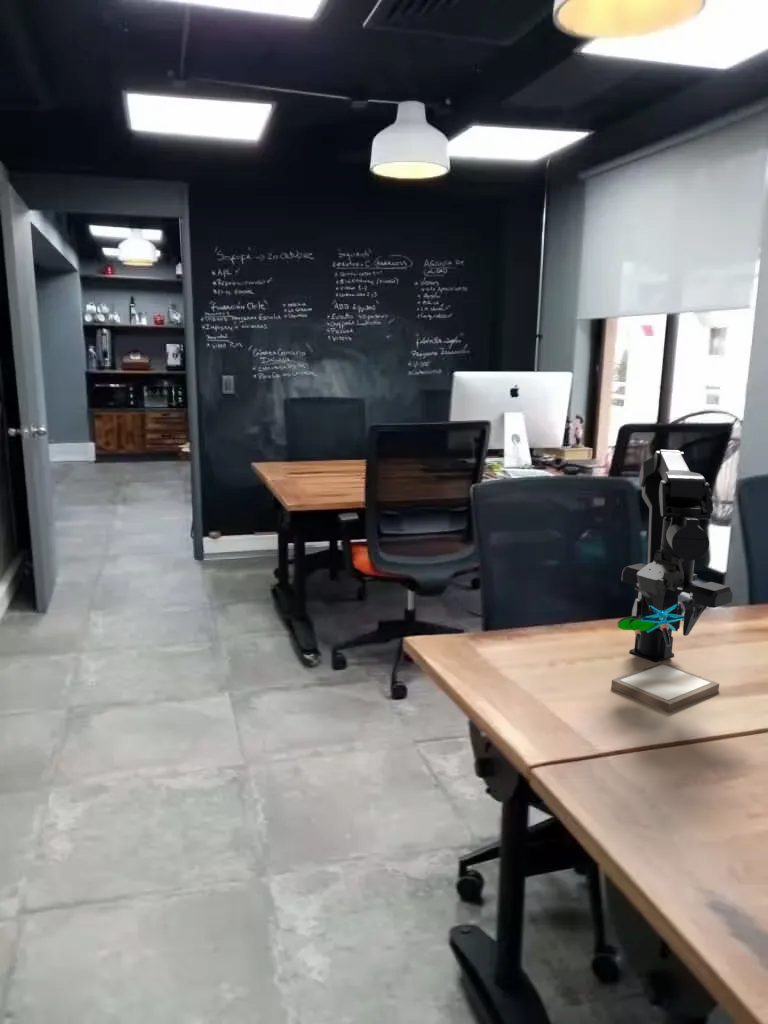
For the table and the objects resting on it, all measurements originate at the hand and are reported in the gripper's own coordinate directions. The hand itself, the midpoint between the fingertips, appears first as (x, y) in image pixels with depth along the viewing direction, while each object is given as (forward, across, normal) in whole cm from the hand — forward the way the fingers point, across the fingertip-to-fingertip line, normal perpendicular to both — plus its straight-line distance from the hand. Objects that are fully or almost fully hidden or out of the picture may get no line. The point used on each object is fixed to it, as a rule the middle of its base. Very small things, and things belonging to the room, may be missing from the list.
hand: (670, 630), depth 136 cm
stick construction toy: (+2, -2, -1) cm, 3 cm away
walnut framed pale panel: (+12, 0, 0) cm, 12 cm away
